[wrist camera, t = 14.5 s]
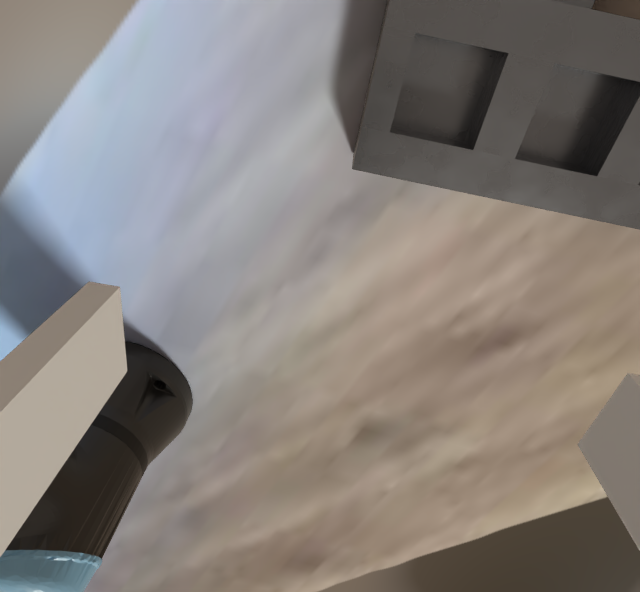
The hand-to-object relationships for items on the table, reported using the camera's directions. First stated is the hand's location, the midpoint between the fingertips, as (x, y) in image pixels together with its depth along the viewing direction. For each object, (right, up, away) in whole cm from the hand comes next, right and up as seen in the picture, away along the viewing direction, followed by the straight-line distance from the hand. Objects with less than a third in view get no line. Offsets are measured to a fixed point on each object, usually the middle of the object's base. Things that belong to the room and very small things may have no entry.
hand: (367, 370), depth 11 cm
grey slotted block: (+16, +16, +20) cm, 30 cm away
